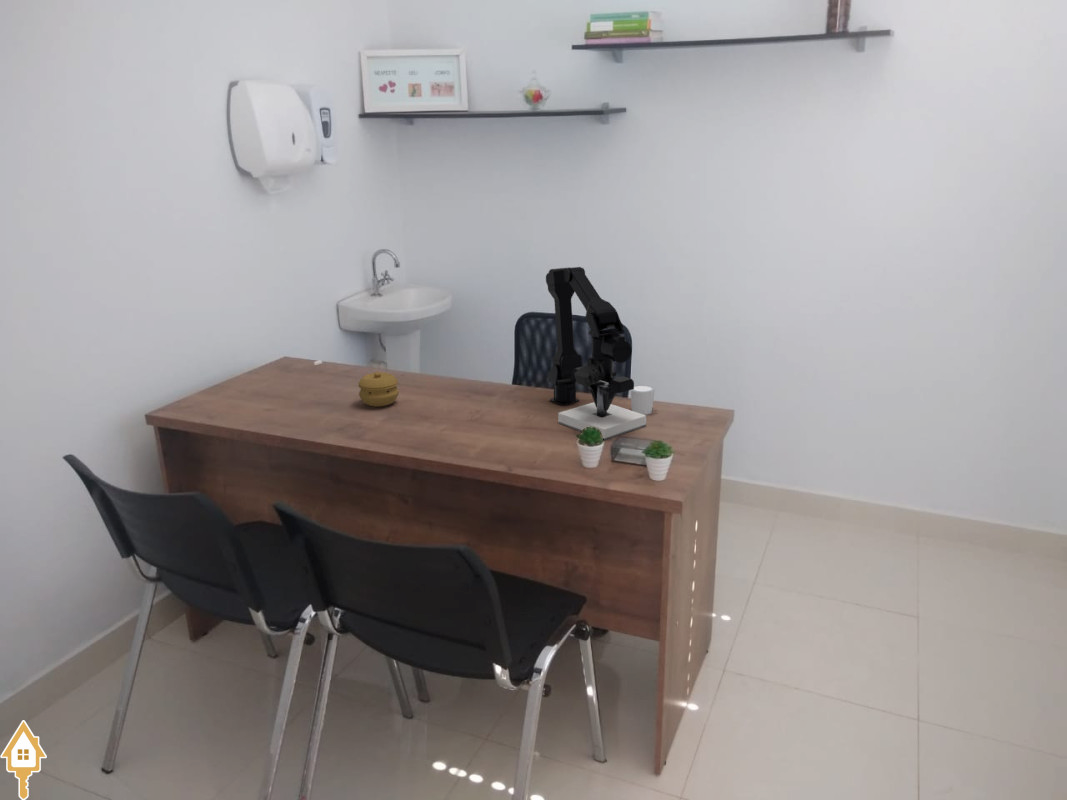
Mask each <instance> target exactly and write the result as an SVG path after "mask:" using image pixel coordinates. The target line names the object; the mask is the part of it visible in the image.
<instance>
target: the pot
mask: <svg viewBox="0 0 1067 800" xmlns="http://www.w3.org/2000/svg"><path fill="white" fill-rule="evenodd" d="M398 385H399V380H398V379H397V378H396V377H395V375H393V374H392V373H390V372H389V373H388V372H380V371H376V372H372V373H369V374H365V375H364V376H362V377H361V379H360V380H359V381H358V387H359V389H360V390H359V391H358V395H359V398H360V399H361V401H362V402H363V403H364V404H365V405H367V406H370V407H374V408H375V407H385V406H389V405H391V404H393V403H394V402H395V401H396V400H397V397H398V396H399V393H400V391H399V390H400V389H399V388H398V387H397V386H398Z"/></svg>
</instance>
